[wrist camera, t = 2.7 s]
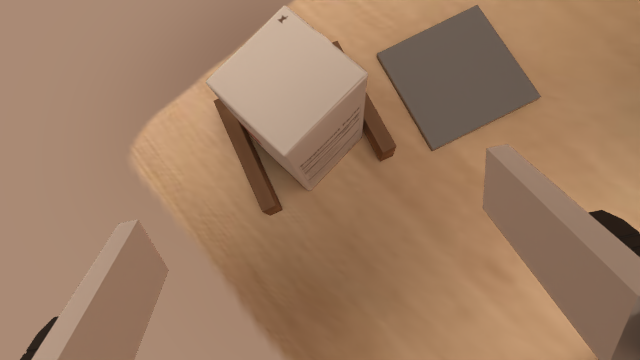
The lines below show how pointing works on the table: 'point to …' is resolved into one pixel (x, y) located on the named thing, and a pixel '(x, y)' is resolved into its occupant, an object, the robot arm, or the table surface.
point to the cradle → (255, 169)
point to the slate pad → (456, 77)
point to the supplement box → (295, 96)
